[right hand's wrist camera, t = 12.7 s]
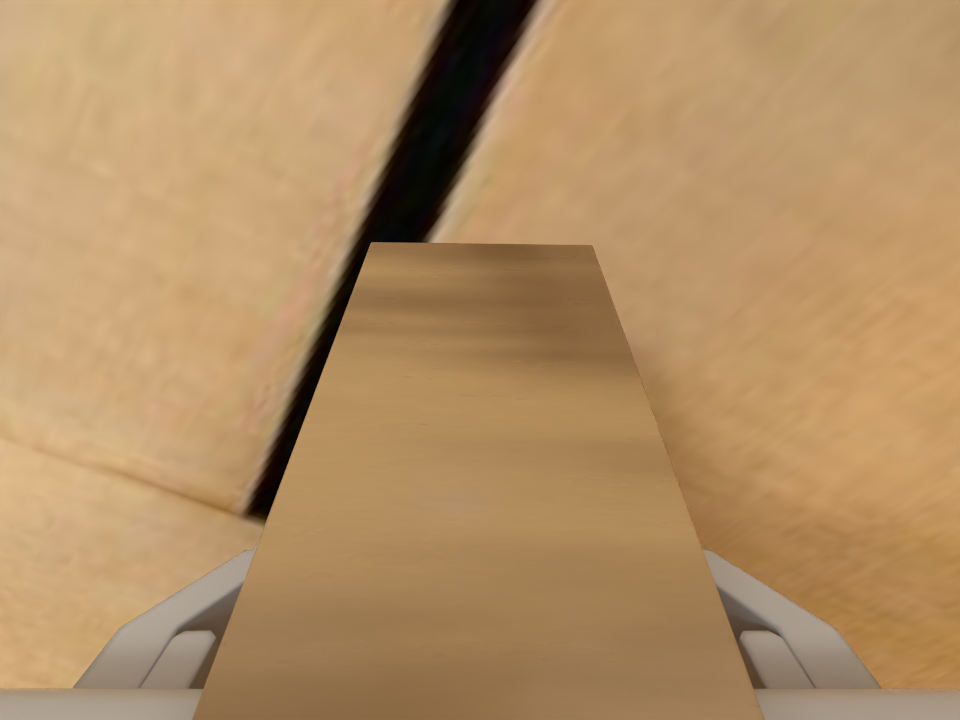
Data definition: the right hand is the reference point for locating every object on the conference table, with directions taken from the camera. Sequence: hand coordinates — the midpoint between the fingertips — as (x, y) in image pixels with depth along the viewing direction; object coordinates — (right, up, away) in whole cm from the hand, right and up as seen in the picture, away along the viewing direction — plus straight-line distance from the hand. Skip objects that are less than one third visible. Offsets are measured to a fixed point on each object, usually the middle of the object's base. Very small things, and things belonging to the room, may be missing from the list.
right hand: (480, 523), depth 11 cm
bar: (0, -4, +8) cm, 9 cm away
